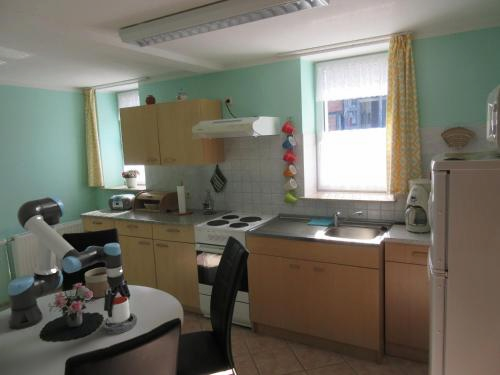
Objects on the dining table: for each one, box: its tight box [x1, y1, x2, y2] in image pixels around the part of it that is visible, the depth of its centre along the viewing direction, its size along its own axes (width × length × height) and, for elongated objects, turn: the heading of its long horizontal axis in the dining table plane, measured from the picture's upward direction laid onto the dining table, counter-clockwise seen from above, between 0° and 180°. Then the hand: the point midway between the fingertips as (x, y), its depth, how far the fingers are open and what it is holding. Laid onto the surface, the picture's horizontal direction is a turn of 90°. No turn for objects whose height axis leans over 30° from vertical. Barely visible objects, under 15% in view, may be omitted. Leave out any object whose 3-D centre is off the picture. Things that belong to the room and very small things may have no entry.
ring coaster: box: [101, 312, 138, 335], centre depth 186 cm, size 16×16×3 cm
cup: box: [112, 295, 130, 323], centre depth 185 cm, size 10×10×10 cm
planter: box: [84, 266, 109, 299], centre depth 227 cm, size 16×16×14 cm
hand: (119, 317), depth 186 cm, fingers closed on cup, 10 cm apart
